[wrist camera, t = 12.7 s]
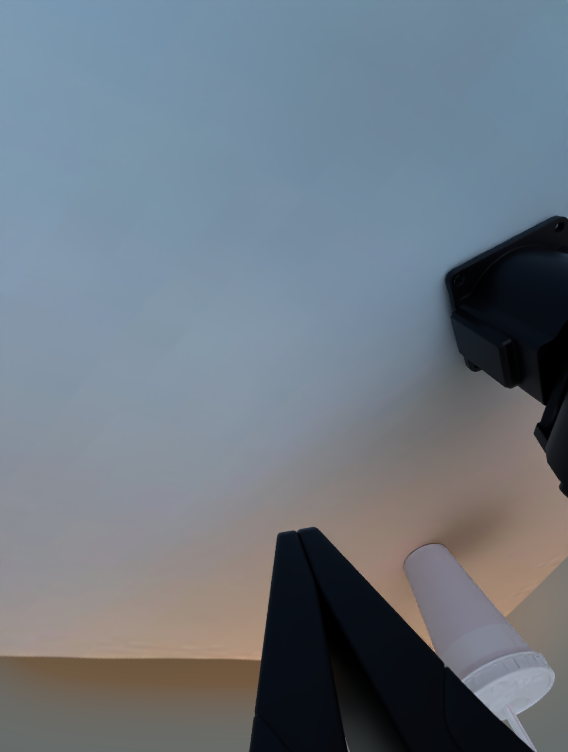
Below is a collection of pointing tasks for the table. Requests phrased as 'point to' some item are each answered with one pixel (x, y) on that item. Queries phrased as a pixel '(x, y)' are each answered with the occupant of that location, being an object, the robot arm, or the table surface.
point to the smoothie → (476, 637)
